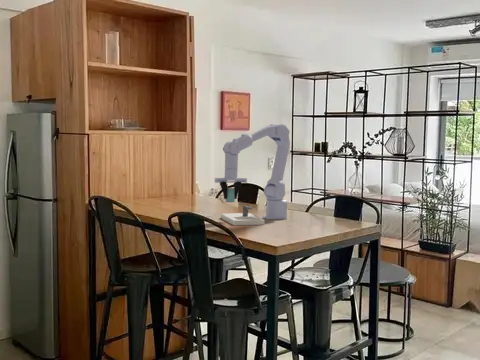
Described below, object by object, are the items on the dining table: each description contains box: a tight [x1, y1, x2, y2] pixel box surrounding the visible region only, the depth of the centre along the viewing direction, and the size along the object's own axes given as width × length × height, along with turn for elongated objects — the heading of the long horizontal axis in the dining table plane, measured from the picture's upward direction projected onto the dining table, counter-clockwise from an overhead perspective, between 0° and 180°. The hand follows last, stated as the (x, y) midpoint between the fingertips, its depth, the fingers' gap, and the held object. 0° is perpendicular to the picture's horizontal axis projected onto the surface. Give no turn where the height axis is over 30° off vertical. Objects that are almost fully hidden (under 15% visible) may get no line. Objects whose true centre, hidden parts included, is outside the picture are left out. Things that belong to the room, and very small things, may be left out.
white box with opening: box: [220, 205, 265, 226], centre depth 244 cm, size 14×20×6 cm
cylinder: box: [225, 187, 236, 203], centre depth 244 cm, size 4×4×6 cm
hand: (230, 198), depth 244 cm, fingers closed on cylinder, 4 cm apart
